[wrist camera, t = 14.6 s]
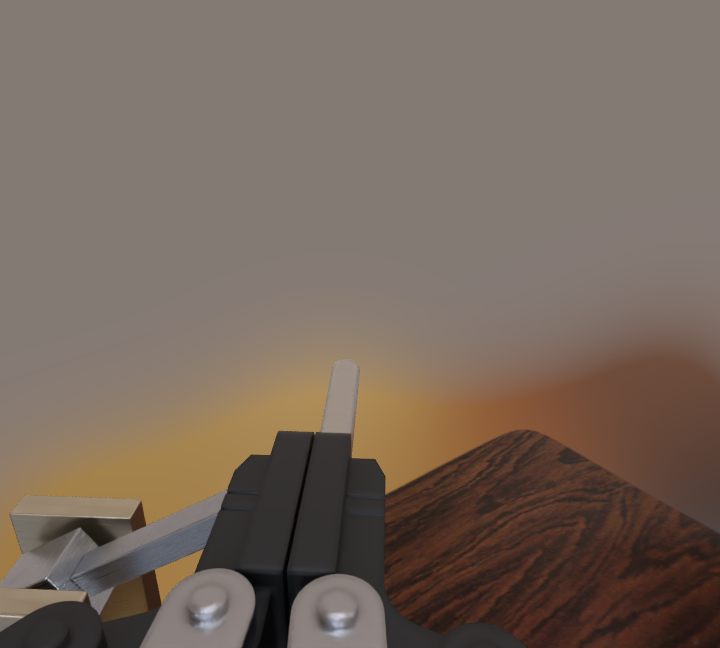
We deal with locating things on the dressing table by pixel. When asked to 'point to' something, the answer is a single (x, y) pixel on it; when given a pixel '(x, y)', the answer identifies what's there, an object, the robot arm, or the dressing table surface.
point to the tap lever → (154, 527)
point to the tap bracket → (102, 524)
